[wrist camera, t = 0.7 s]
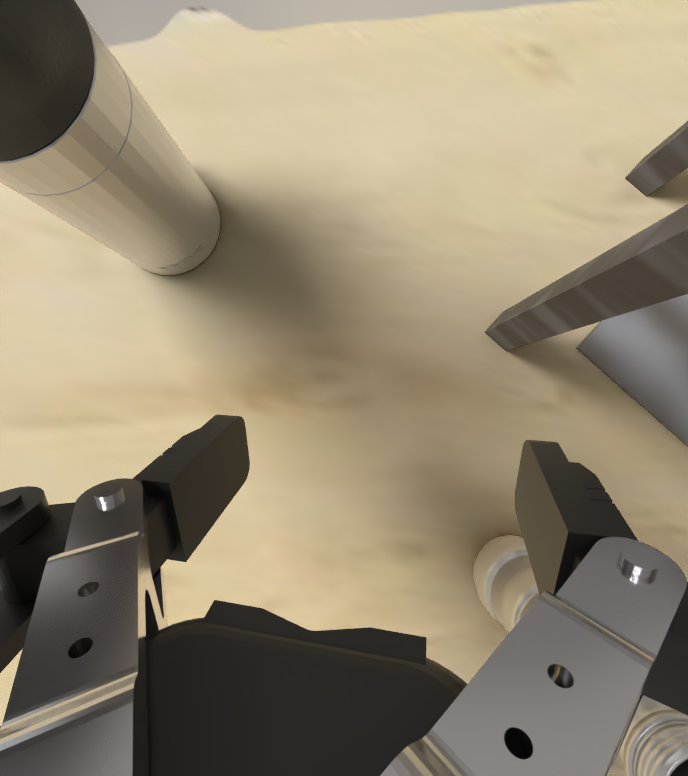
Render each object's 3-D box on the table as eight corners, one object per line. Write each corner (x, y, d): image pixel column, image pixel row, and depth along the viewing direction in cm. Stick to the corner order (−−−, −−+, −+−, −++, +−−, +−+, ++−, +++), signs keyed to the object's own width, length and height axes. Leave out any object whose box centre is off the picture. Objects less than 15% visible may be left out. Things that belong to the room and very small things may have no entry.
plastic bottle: (545, 530, 34) (807, 714, 14) (540, 610, 34) (797, 909, 14) (469, 524, 35) (623, 697, 15) (463, 603, 34) (611, 888, 14)
